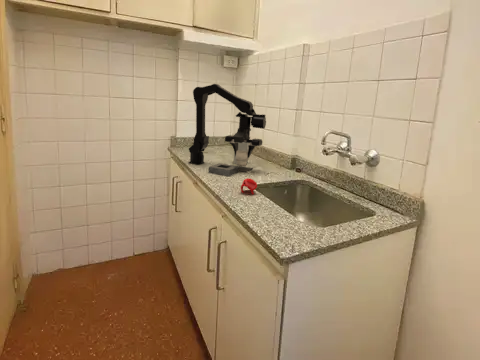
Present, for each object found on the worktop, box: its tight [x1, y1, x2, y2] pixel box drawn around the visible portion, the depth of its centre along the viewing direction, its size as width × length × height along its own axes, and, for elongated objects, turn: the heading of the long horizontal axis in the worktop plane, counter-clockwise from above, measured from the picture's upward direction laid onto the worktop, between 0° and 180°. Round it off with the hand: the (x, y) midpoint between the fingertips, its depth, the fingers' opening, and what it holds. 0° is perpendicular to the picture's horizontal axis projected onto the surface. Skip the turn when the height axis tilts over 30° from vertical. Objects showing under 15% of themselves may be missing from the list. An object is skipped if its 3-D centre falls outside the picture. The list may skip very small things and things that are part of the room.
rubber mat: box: [238, 166, 253, 173], centre depth 163 cm, size 9×9×1 cm
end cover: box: [236, 150, 249, 167], centre depth 161 cm, size 6×6×7 cm
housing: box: [208, 162, 239, 177], centre depth 153 cm, size 11×11×3 cm
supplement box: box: [232, 142, 250, 165], centre depth 176 cm, size 7×7×13 cm
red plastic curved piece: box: [240, 178, 258, 195], centre depth 124 cm, size 8×6×6 cm
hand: (242, 157), depth 161 cm, fingers closed on end cover, 6 cm apart
